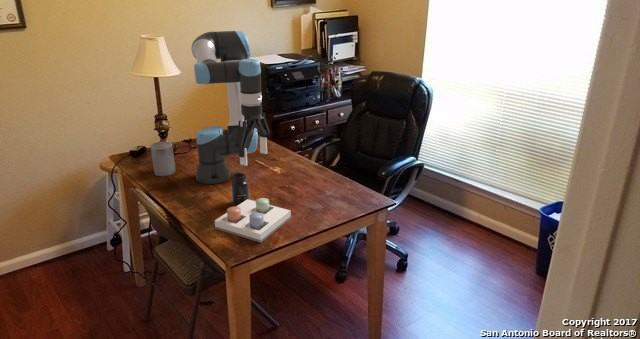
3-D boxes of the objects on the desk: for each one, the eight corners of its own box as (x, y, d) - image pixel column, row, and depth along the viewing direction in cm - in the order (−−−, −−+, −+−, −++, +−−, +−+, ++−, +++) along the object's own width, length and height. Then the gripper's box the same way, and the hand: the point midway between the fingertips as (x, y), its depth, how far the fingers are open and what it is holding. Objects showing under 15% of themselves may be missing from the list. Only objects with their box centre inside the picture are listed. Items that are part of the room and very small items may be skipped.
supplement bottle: (241, 207, 186) (240, 180, 181) (228, 203, 189) (226, 176, 184) (252, 201, 191) (251, 174, 186) (240, 197, 194) (238, 170, 190)
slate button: (247, 227, 165) (246, 217, 164) (255, 221, 169) (254, 211, 168) (258, 230, 163) (258, 220, 162) (266, 224, 167) (266, 214, 166)
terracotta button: (224, 220, 170) (223, 210, 168) (233, 215, 174) (232, 205, 172) (235, 223, 167) (235, 214, 166) (244, 218, 172) (243, 208, 170)
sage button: (253, 211, 176) (253, 202, 175) (261, 206, 181) (260, 196, 179) (264, 214, 174) (264, 204, 173) (271, 209, 178) (271, 199, 177)
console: (215, 228, 170) (214, 220, 168) (248, 206, 186) (247, 199, 185) (260, 242, 161) (260, 234, 160) (290, 218, 177) (290, 210, 176)
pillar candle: (164, 167, 224) (160, 137, 218) (180, 170, 220) (176, 140, 214) (149, 174, 216) (144, 144, 210) (165, 178, 212) (161, 147, 206)
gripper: (240, 113, 155) (243, 171, 163) (278, 97, 176) (279, 150, 184) (221, 110, 158) (226, 168, 166) (261, 95, 179) (263, 147, 187)
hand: (254, 158), depth 175 cm, fingers open, 13 cm apart
